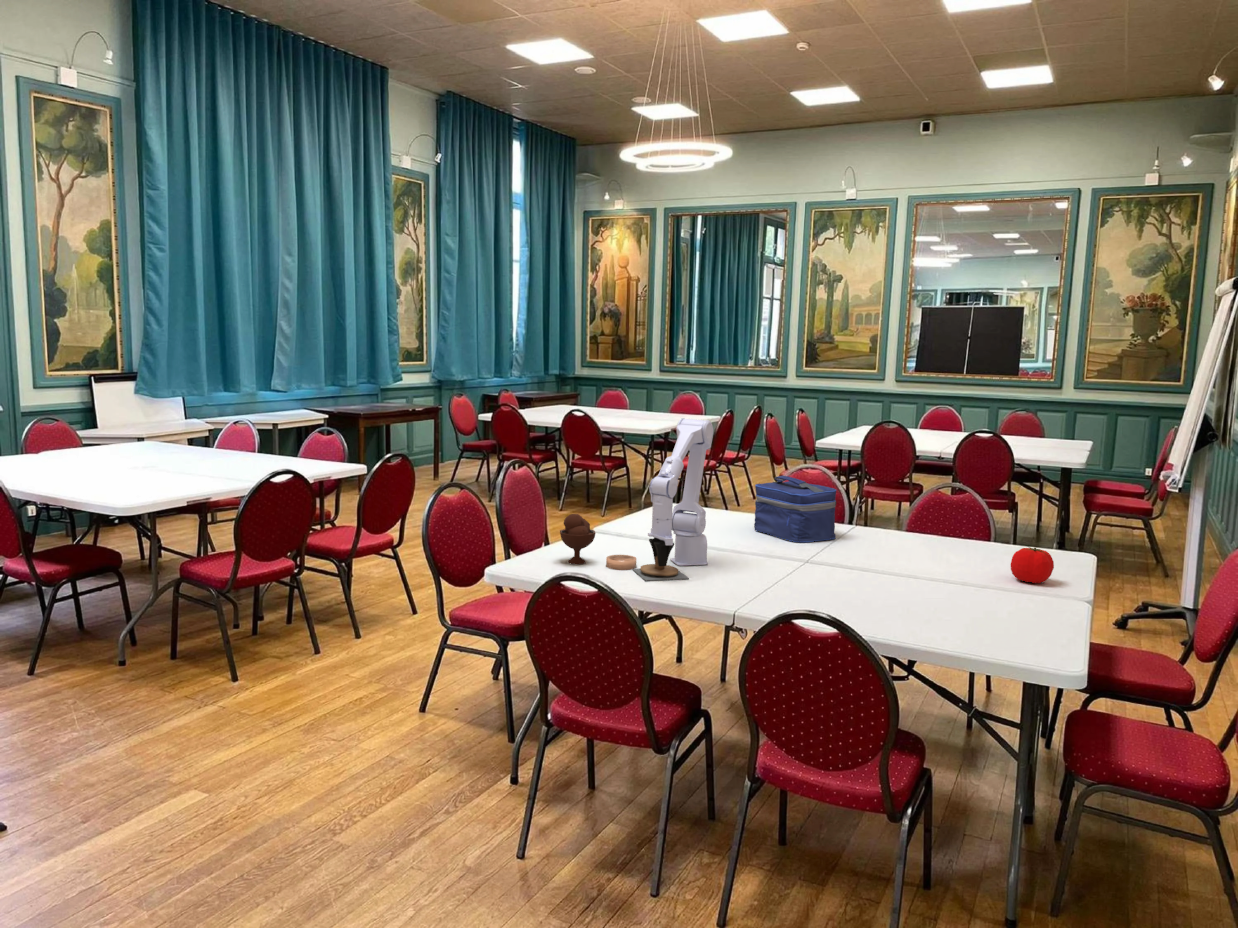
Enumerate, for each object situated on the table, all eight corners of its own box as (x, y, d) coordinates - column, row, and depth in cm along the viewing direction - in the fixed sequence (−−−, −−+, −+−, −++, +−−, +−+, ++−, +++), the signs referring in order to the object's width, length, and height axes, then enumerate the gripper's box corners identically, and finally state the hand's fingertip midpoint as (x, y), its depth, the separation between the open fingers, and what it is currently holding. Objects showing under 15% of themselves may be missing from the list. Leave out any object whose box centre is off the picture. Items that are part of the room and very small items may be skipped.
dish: (631, 562, 278) (631, 554, 278) (639, 569, 270) (640, 561, 269) (602, 563, 276) (603, 555, 276) (610, 570, 267) (610, 562, 267)
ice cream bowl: (590, 567, 270) (591, 517, 268) (554, 564, 272) (555, 515, 270) (598, 559, 280) (599, 511, 278) (563, 557, 282) (564, 509, 281)
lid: (673, 567, 270) (674, 552, 270) (681, 576, 259) (683, 561, 259) (637, 566, 268) (638, 551, 268) (644, 575, 258) (645, 560, 257)
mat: (674, 568, 272) (674, 567, 272) (689, 579, 260) (689, 578, 260) (632, 570, 269) (632, 568, 269) (645, 581, 256) (645, 579, 256)
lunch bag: (741, 528, 336) (744, 473, 333) (785, 523, 347) (788, 470, 344) (799, 545, 310) (802, 485, 307) (844, 539, 321) (847, 482, 318)
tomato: (1025, 587, 262) (1028, 552, 260) (1001, 577, 273) (1003, 543, 272) (1061, 586, 264) (1065, 551, 263) (1036, 576, 275) (1039, 542, 274)
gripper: (641, 513, 268) (640, 559, 270) (656, 523, 254) (655, 571, 256) (664, 513, 270) (662, 558, 271) (680, 522, 256) (678, 570, 258)
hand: (660, 564), depth 264 cm, fingers closed on lid, 3 cm apart
